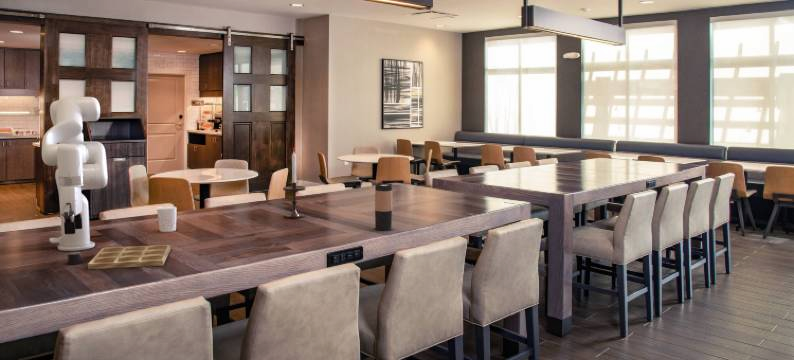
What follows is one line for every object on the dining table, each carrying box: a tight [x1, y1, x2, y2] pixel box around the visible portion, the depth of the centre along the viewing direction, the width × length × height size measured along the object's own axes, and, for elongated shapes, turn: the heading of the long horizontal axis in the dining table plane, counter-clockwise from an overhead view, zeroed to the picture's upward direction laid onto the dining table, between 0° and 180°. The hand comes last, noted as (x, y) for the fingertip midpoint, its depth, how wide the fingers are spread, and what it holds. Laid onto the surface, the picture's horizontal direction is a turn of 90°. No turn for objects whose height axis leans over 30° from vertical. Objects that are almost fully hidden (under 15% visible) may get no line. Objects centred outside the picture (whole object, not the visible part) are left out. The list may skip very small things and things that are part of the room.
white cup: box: [156, 205, 178, 233], centre depth 269 cm, size 8×8×10 cm
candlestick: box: [282, 145, 307, 220], centre depth 302 cm, size 11×11×35 cm
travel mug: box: [374, 183, 393, 232], centre depth 276 cm, size 8×8×20 cm
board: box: [87, 244, 171, 270], centre depth 222 cm, size 24×24×2 cm
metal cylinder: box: [67, 251, 82, 265], centre depth 215 cm, size 4×4×4 cm
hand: (73, 231), depth 214 cm, fingers open, 9 cm apart
